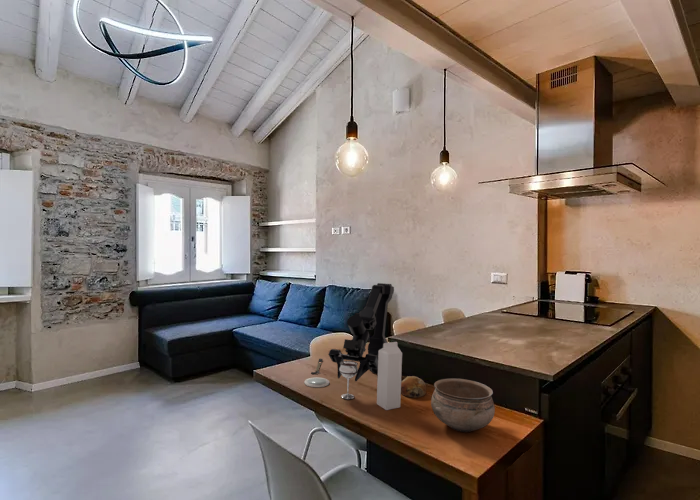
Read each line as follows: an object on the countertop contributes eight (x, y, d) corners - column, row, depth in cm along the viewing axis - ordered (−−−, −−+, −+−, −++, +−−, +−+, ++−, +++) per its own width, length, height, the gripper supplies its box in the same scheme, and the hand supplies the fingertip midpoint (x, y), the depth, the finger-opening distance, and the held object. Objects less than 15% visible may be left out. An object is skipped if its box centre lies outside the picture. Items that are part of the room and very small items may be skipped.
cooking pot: (458, 407, 135) (459, 372, 135) (510, 427, 121) (511, 388, 121) (411, 426, 119) (412, 387, 119) (465, 452, 104) (466, 407, 104)
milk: (400, 407, 133) (403, 343, 133) (385, 410, 130) (388, 345, 130) (390, 401, 139) (392, 339, 139) (376, 403, 136) (378, 341, 136)
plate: (326, 378, 161) (326, 376, 161) (331, 386, 152) (331, 384, 152) (302, 379, 158) (302, 377, 158) (306, 388, 149) (306, 386, 149)
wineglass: (354, 392, 145) (355, 360, 145) (359, 399, 138) (360, 366, 138) (336, 393, 144) (337, 361, 144) (340, 400, 137) (341, 366, 137)
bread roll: (427, 402, 148) (430, 380, 152) (421, 399, 140) (424, 376, 143) (402, 397, 153) (405, 376, 156) (395, 393, 144) (398, 371, 147)
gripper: (331, 327, 148) (317, 364, 138) (377, 333, 141) (365, 372, 131) (339, 343, 155) (326, 379, 145) (383, 349, 148) (373, 387, 138)
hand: (346, 379), depth 140 cm, fingers closed on wineglass, 6 cm apart
